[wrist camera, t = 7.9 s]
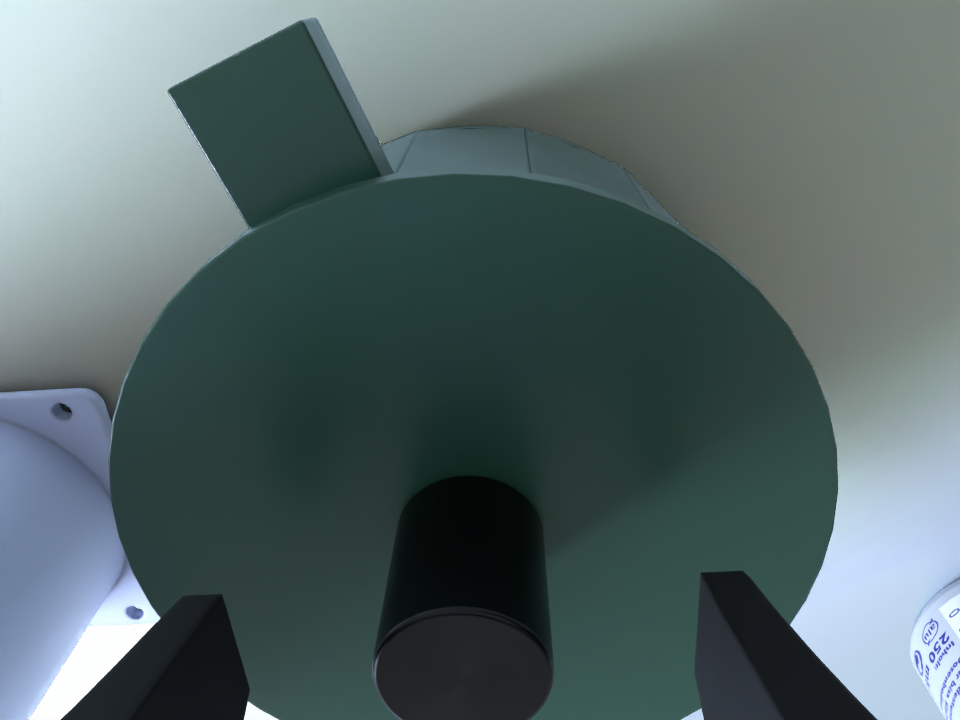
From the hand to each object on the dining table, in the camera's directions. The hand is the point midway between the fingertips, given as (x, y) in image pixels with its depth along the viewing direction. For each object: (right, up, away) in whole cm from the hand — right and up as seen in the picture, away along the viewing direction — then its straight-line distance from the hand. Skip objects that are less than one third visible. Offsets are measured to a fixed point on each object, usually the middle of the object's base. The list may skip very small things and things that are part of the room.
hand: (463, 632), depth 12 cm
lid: (0, +1, +3) cm, 3 cm away
